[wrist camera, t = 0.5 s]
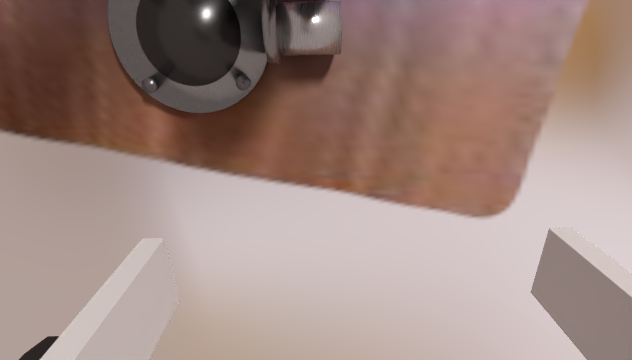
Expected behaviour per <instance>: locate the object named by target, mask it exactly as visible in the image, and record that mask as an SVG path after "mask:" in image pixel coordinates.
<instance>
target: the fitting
mask: <svg viewBox="0 0 632 360" xmlns="http://www.w3.org/2000/svg"><path fill="white" fill-rule="evenodd" d="M108 26H109V31H110V36H111V40H112V43H113V46H114V49H115V51H116V53H117V56H118V58H119V60H120V62H121V63H122V65H123V67H124V68H125V70H126V71H127V73H128V74H129V75H130V77H131V78H132V79H133V80H134V81H135V83H136V84H137V85H138V86H139V87H140V88H142V89H143V90H144V91H145V92H146V93H147V94H149V95H150V96H151V97H153V98H154V99H156V100H157V101H159V102H161V103H163V104H165V105H167V106H169V107H172V108H174V109H178V110H181V111H185V112H191V113H208V112H215V111H219V110H222V109H225V108H227V107H230V106H232V105H233V104H235V103H237V102H238V101H240V100H241V99H242V98H244V97H245V96H246V95H247V94H248V93H249V92H250V91H251V90H252V89H253V88H254V87H255V86H256V84H257V83H258V82H259V80H260V78H261V76H262V75H263V73H264V70H265V68H266V65H267V63H281V59H282V56H296V55H331V54H340V53H341V41H342V12H341V1H340V0H339V1H306V2H278V0H108Z"/></svg>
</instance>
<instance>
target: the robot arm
mask: <svg viewBox="0 0 632 360" xmlns="http://www.w3.org/2000/svg"><path fill="white" fill-rule="evenodd" d="M531 293H532V294H533V295H534V297H535V298H536V299H537V300H538V301H539V303H540V304H541V305H542V306H543V307H544V309H545V310H546V311H547V312H548V313H549V315H550V316H551V317H552V318H553V319H554V321H555V322H556V323H557V324H558V325H559V326H560V328H561V329H562V330H563V331H564V333H565V334H566V335H567V336H568V337H569V339H570V340H571V341H572V342H573V343H574V345H575V346H576V347H577V348H578V349H579V350H580V352H581V353H582V354H583V355H584V357H585V358H586V359H587V360H632V273H631V272H630V271H628V270H627V269H625V268H624V267H623V266H622V265H620V264H619V263H618V262H616V261H615V260H614V259H612V258H611V257H610V256H608V255H607V254H606V253H604V252H603V251H602V250H600V249H599V248H598V247H596V246H595V245H594V244H592V243H591V242H590V241H588V240H587V239H586V238H585V237H583V236H582V235H581V234H579V233H578V232H577V231H575V230H574V229H573V228H550V229H549V231H548V234H547V238H546V241H545V245H544V248H543V252H542V255H541V258H540V262H539V265H538V269H537V272H536V276H535V279H534V283H533V286H532V290H531ZM179 301H180V299H179V295H178V291H177V287H176V283H175V279H174V275H173V270H172V266H171V262H170V258H169V254H168V250H167V246H166V242H165V238H150V239H149V238H148V239H142V240H141V241H140V242H139V243H138V245H137V246H136V247H135V248H134V249H133V250H132V252H131V253H130V254H129V255H128V256H127V257H126V259H125V260H124V261H123V262H122V263H121V265H120V266H119V267H118V268H117V269H116V270H115V272H114V273H113V274H112V275H111V276H110V277H109V279H108V280H107V281H106V282H105V283H104V284H103V286H102V287H101V288H100V289H99V290H98V292H97V293H96V294H95V295H94V296H93V297H92V299H91V300H90V301H89V302H88V303H87V305H86V306H85V307H84V308H83V309H82V310H81V312H80V313H79V314H78V315H77V316H76V318H75V319H74V320H73V321H72V323H70V325H69V326H68V327H67V328H66V329H65V331H64V332H63V333H62V334H61V335H60V336H54V337H52V336H51V337H47V338H45V339H44V340H42V341H41V342H40V343H38V344H37V345H36V346H34V347H33V348H32V349H30V350H29V351H28V352H26V353H25V354H24V355H23V356H22V357H21V358H20V359H19V360H150V357H151V356H152V354H153V352H154V350H155V348H156V346H157V344H158V342H159V340H160V338H161V336H162V334H163V332H164V330H165V328H166V326H167V324H168V322H169V320H170V318H171V316H172V315H173V312H174V311H175V309H176V307H177V305H178V303H179Z"/></svg>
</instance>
